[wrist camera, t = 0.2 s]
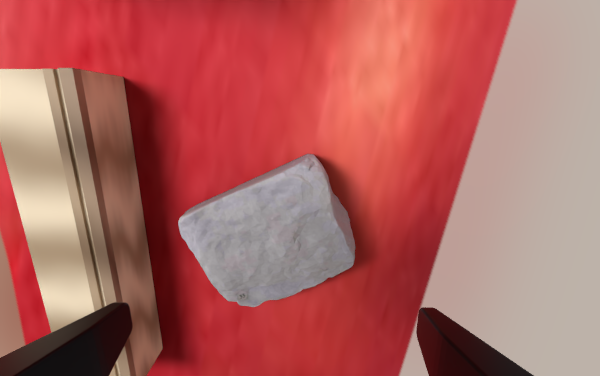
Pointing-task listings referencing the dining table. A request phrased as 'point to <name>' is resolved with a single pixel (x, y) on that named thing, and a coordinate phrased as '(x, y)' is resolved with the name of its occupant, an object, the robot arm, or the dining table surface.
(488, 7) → the dining table surface
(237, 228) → the stone block
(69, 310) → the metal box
